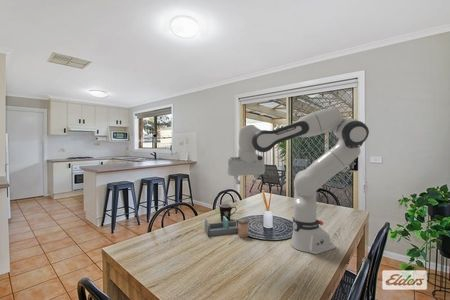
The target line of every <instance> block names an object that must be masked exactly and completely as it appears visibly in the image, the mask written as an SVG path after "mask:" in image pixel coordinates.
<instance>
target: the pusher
mask: <svg viewBox="0 0 450 300" xmlns="http://www.w3.org/2000/svg"><path fill="white" fill-rule="evenodd" d="M222 222H223V228H224V229H225V228H228V222H229V221H228V220H227V218H226V217H225V216H223V221H222Z"/></svg>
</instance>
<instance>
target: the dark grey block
mask: <svg viewBox="0 0 450 300" xmlns="http://www.w3.org/2000/svg"><path fill="white" fill-rule="evenodd" d="M204 230H205V232H206V234H207V237H212V236H213V237H214V236H221V235H230V234H238V226H237V223H236V220H233V221H232V220H229V221H228V228H225V229H224V228H223V221H221V222H211V223H209V221H208V219H207V218H205V219H204Z"/></svg>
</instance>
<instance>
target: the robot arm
mask: <svg viewBox="0 0 450 300" xmlns="http://www.w3.org/2000/svg"><path fill="white" fill-rule="evenodd" d="M369 130H370V129H369V127H368V126H367V125H366V123H364V122H363V121H360V120H359V119H356V118H353V117H352V118H351V117H348V116H342V113H341V111H340V110H339V109H338V108H337V107H329V108H323V109H319V110H315V111H313V112H312V111H311V113H308V114H306V115H304V116H301V117H300V118H299V119H297V120H296V121H294V122H292V123H291V124H287V125H286V126H283V127H280V128H276V129H273V130H263V129H260V128H258V127H257V126H255V125H253V124H250V125H248V124H247V125H244V126H242V127H241V128H240V129H239V132H238V147H239V148H238V152H237V153H238V155H237V156H234V157H233V156H231V157H230V158H228V160H227V163H228V166H227V174H228V176H231V177H233V178H234V179H235V184H236V185H241V180H239V176H254V177H253V179H251V182H252V184H257V180H258V178H259V176H261V175H264V174H265V172H266V164H265V161H264V160H265V156H263V155H260V154H257V152H260V153H266V152H269V151H270V150H272V149H273V148H274V147H276V145H279V144H280V143H283V142H286V141H289V140H291V139H296V138H310V137H311V138H312V137H316V136H319V135H322V134H324V133H328V132H331V133H332V134H333V136H335V137H336V138H338V141H337V143H336V144H335V145H334V146H333V147H331V148H330V149H329V150H327V151H326V152H325V153H324V154H322V155H321V156H319V157H318V158H316V159H315V161H314V162H312V163H311V164H310V165H308V166H307V168H305V169H303V170H300V171H299V172H297V173H296V174H295V177H294V179H293V187H294V188H293V189H294V193H293V194H294V195H293V196H294V197H293V217H292V229H293V230H292V236H291V240H290V246H291V247H292V248H294V249H295V250H298V251H301V252H304V253H305V252H306V253H309V254H314V255H318V254H322V253H324V252H328V251H330V250H333V249H336V245H335V243H334V242H332V240H331V237H330V234H329V233H328V232H327V230H324V229H323V228H322V227H321V226H323V225H324V221H322V220H319V219H317V191H318V190H319V189H320V188H321V187H323V186H324V185H325V184H326V183H327V182H328V181H330V180H331V179H332V178H333V177H334V176H335V175H336V174H338V173H339V172H341V171H343V170H344V169H345V168H347V167H348V166H350V164H352V163H353V162H354V161H355V160H356V159H357V158H358V156H360V154H361V147H362V146H363V144H364V142H365V141H366V140H367V138H368V137H369V133H370V131H369ZM256 151H257V152H256Z"/></svg>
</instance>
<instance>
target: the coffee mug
mask: <svg viewBox="0 0 450 300" xmlns="http://www.w3.org/2000/svg"><path fill="white" fill-rule="evenodd" d="M234 208H235V210H234V211H233V212H232V209H234ZM231 212H232V213H231ZM236 212H237V207H236V206H232V204H230V203H221V204H219V214H220V221H221V222H223V216H225V217H226V218H227V220H228V222H230V221H231V216H232V215H233V214H235V213H236Z"/></svg>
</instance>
